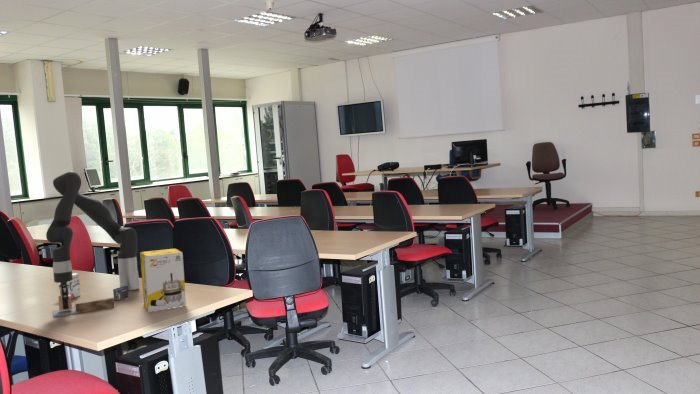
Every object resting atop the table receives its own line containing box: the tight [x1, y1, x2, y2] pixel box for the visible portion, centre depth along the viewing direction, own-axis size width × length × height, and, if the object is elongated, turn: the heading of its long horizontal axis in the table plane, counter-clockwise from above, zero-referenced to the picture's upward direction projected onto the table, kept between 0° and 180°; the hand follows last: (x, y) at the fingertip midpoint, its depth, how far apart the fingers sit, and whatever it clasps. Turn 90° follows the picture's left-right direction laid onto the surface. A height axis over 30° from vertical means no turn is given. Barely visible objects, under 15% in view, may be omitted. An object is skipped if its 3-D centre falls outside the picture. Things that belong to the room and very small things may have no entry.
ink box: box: [67, 272, 81, 300], centre depth 285 cm, size 9×5×12 cm, turn 168°
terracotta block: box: [57, 294, 73, 311], centre depth 253 cm, size 5×5×6 cm
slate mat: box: [52, 306, 80, 318], centre depth 254 cm, size 10×12×1 cm
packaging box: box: [139, 248, 187, 313], centre depth 257 cm, size 16×16×25 cm
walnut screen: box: [75, 297, 115, 313], centre depth 257 cm, size 16×2×4 cm, turn 120°
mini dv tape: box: [112, 286, 129, 302], centre depth 275 cm, size 8×2×6 cm, turn 160°
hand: (65, 307), depth 253 cm, fingers closed on terracotta block, 5 cm apart
